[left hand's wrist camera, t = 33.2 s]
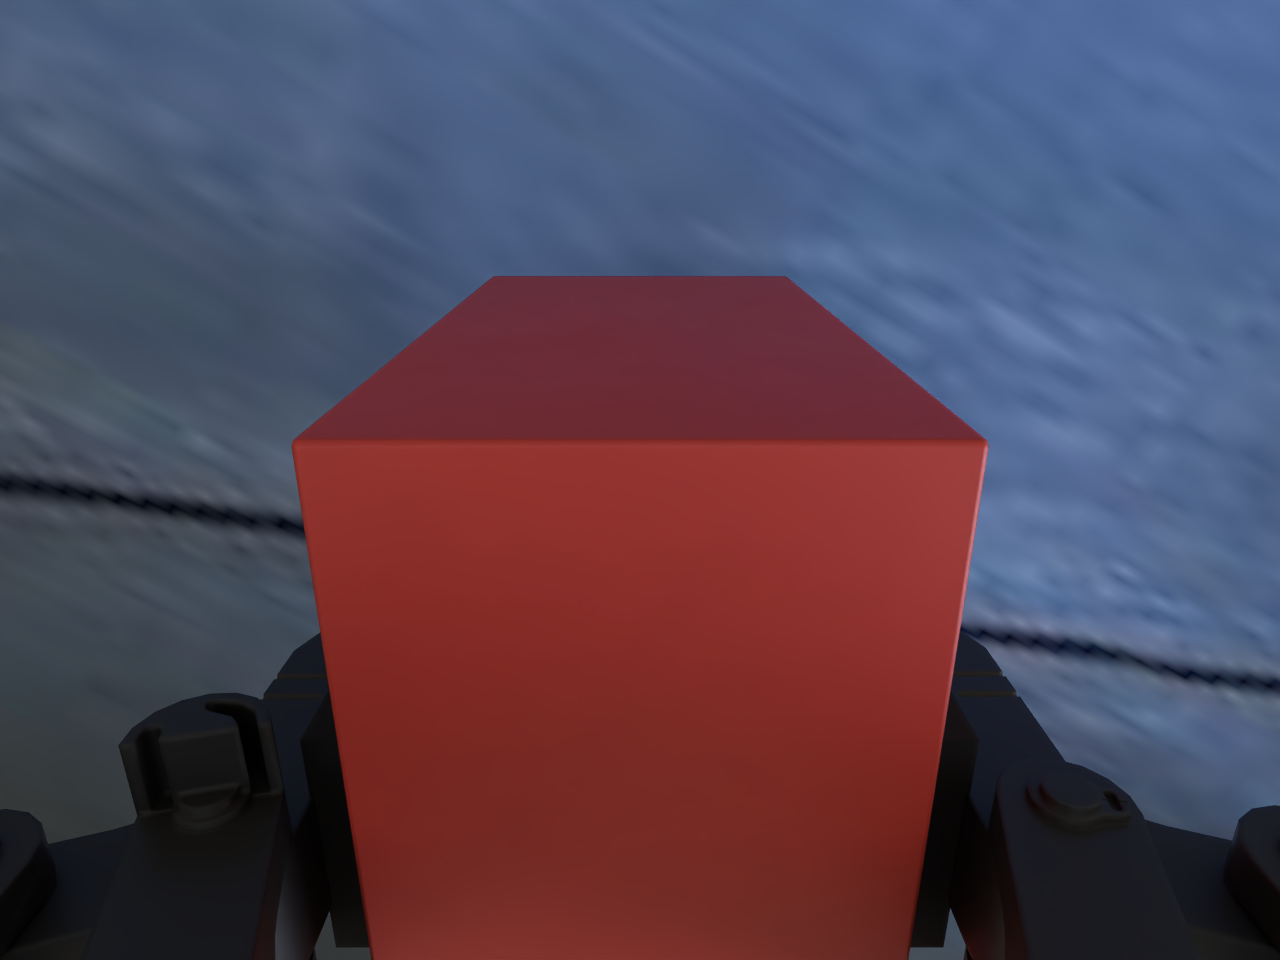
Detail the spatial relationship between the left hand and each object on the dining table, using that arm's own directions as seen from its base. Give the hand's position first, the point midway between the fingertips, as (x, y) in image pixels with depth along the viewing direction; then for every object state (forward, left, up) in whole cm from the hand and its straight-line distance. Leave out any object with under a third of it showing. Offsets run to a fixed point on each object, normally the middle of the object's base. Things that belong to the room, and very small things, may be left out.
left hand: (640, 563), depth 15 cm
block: (0, 0, -2) cm, 2 cm away
